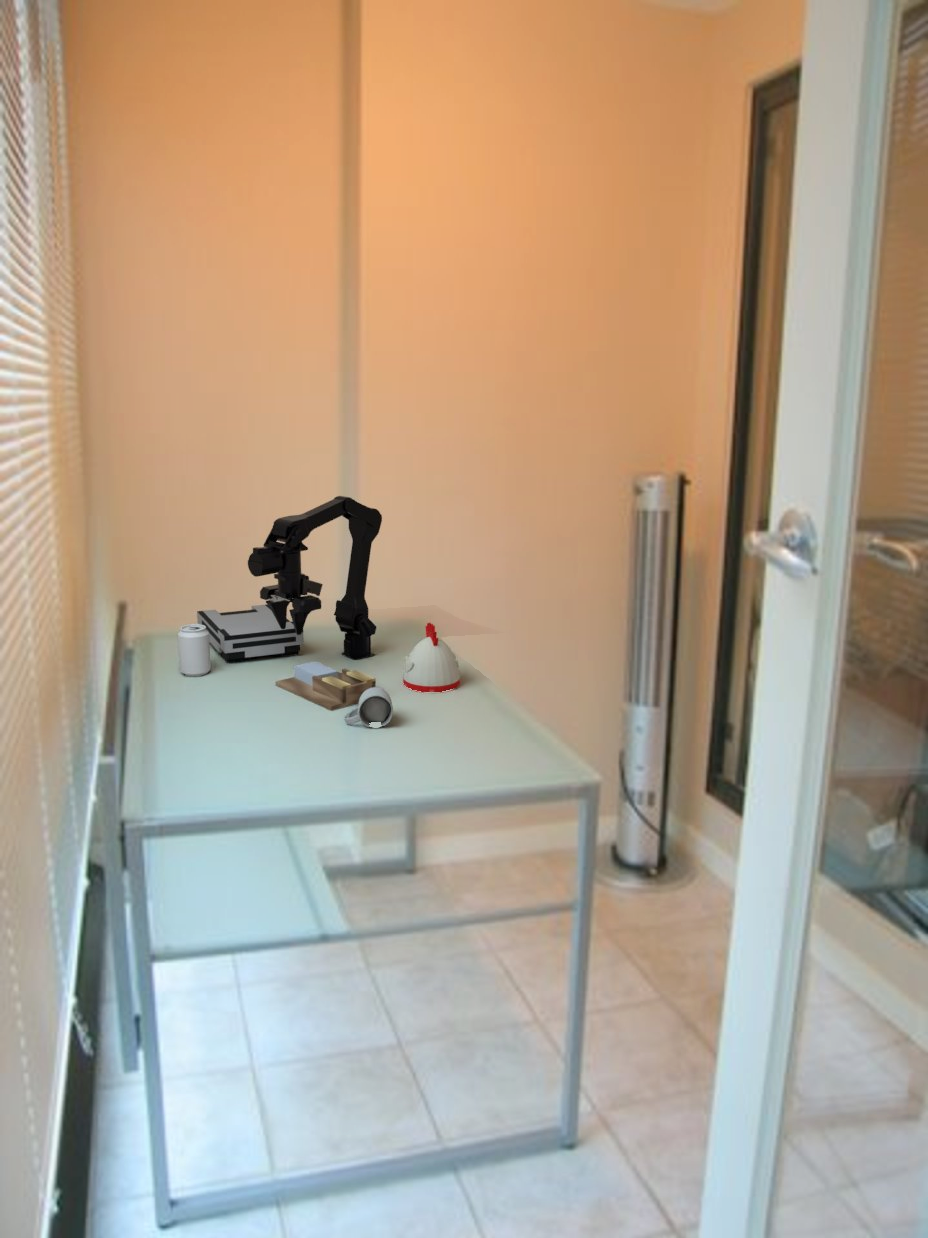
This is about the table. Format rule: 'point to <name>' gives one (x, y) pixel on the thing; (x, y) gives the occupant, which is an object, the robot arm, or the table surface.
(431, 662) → the kitchen timer
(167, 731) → the table surface
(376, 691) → the ceramic mug
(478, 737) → the table surface
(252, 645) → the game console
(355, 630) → the robot arm
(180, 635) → the can
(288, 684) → the board
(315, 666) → the blue-grey rectangular block
